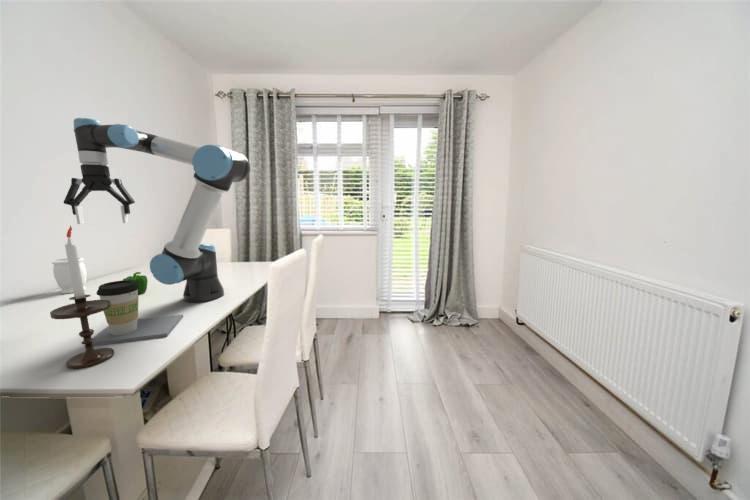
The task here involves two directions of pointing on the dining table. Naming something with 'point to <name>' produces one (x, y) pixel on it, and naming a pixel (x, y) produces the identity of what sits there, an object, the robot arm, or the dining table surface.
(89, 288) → the dining table surface
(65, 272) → the jar
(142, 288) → the bell pepper
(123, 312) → the coffee cup
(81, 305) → the candlestick
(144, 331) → the slate mat
